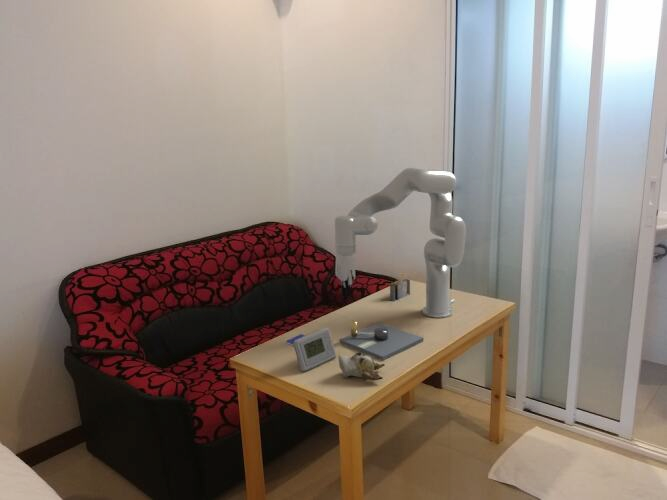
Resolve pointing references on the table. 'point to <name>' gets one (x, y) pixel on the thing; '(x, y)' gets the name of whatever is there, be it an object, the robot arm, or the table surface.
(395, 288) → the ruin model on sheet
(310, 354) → the digital clock
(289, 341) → the hard drive
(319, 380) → the table surface
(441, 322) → the table surface
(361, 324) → the table surface
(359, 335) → the lever
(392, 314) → the table surface
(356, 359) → the ceramic sculpture
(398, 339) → the dial plate
